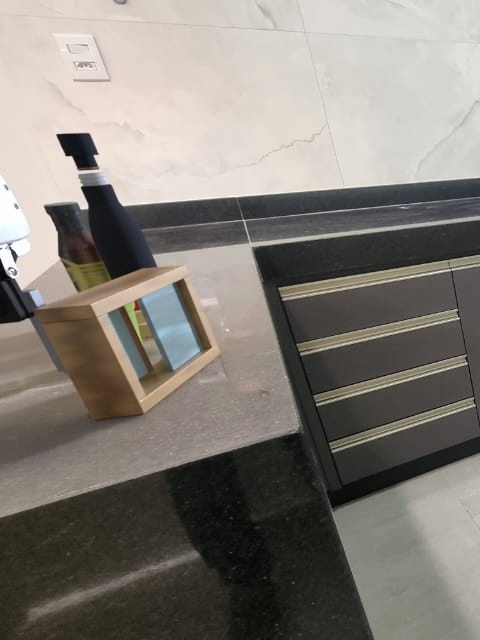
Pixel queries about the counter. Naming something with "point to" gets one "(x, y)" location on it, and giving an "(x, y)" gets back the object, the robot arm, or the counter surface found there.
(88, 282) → the sauce bottle
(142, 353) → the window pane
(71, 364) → the window frame
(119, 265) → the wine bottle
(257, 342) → the counter surface
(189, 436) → the counter surface
